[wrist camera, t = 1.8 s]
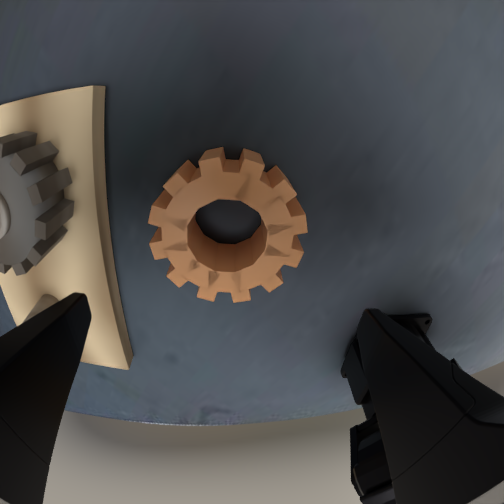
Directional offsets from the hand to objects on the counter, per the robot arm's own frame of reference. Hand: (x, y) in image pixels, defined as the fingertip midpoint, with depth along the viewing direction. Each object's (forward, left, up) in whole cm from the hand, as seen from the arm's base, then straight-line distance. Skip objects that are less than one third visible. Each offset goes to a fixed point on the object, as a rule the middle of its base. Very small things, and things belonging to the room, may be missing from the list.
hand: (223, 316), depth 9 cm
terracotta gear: (0, 0, -8) cm, 8 cm away
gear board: (+12, +2, -8) cm, 15 cm away
